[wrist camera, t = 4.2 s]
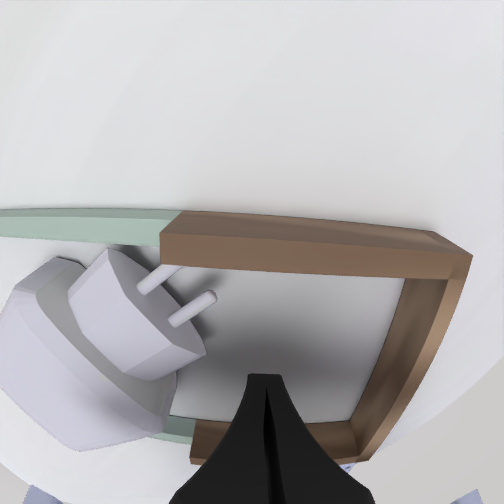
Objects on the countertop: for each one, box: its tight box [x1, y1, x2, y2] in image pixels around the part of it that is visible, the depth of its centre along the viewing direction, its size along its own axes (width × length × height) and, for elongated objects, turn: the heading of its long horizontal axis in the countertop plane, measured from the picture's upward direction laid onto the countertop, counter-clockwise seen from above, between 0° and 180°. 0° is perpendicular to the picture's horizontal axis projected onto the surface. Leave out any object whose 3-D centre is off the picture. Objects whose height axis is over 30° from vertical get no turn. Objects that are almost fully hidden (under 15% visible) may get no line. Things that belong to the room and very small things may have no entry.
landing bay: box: [0, 208, 196, 445], centre depth 12 cm, size 14×18×2 cm
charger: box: [0, 248, 217, 452], centre depth 11 cm, size 5×9×15 cm
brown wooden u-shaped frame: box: [159, 211, 473, 465], centre depth 12 cm, size 14×11×3 cm
